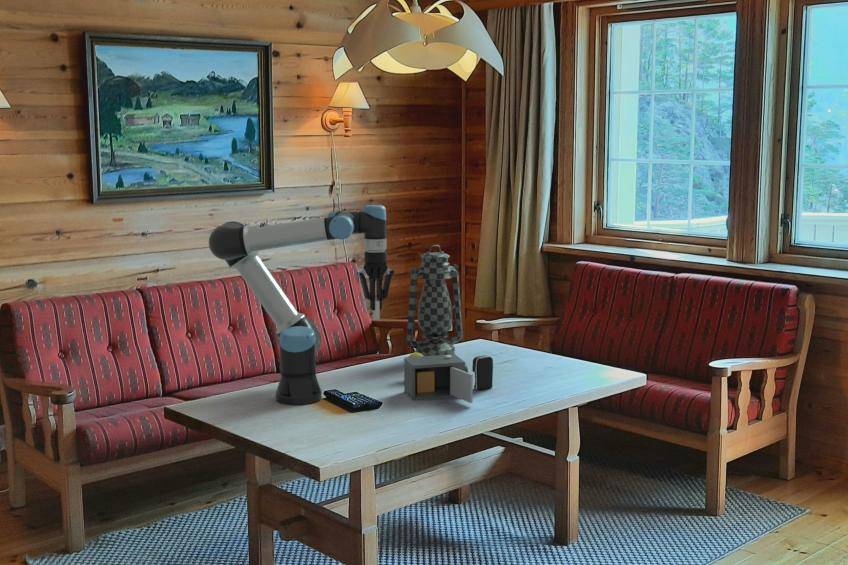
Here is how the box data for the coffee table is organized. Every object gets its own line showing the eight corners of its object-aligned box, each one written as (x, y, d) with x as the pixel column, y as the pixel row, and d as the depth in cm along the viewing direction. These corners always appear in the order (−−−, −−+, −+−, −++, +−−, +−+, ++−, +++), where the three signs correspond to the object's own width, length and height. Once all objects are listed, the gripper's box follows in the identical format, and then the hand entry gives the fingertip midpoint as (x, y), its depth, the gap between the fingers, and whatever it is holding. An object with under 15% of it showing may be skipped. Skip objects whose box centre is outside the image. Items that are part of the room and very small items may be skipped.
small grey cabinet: (413, 401, 336) (412, 363, 334) (404, 391, 348) (404, 355, 346) (470, 396, 341) (470, 359, 339) (460, 387, 353) (460, 351, 351)
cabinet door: (474, 402, 330) (474, 374, 328) (470, 403, 329) (470, 374, 328) (453, 394, 340) (453, 366, 338) (450, 394, 339) (450, 367, 337)
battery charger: (486, 385, 355) (486, 353, 353) (493, 388, 352) (493, 355, 350) (470, 388, 351) (470, 356, 349) (477, 391, 348) (477, 358, 346)
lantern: (416, 370, 377) (416, 249, 370) (396, 359, 393) (395, 244, 386) (473, 363, 388) (474, 246, 380) (452, 353, 404) (452, 240, 396)
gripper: (361, 253, 338) (362, 322, 342) (397, 251, 344) (398, 319, 348) (353, 250, 345) (354, 318, 349) (388, 248, 351) (389, 315, 354)
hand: (376, 319), depth 348 cm, fingers closed
